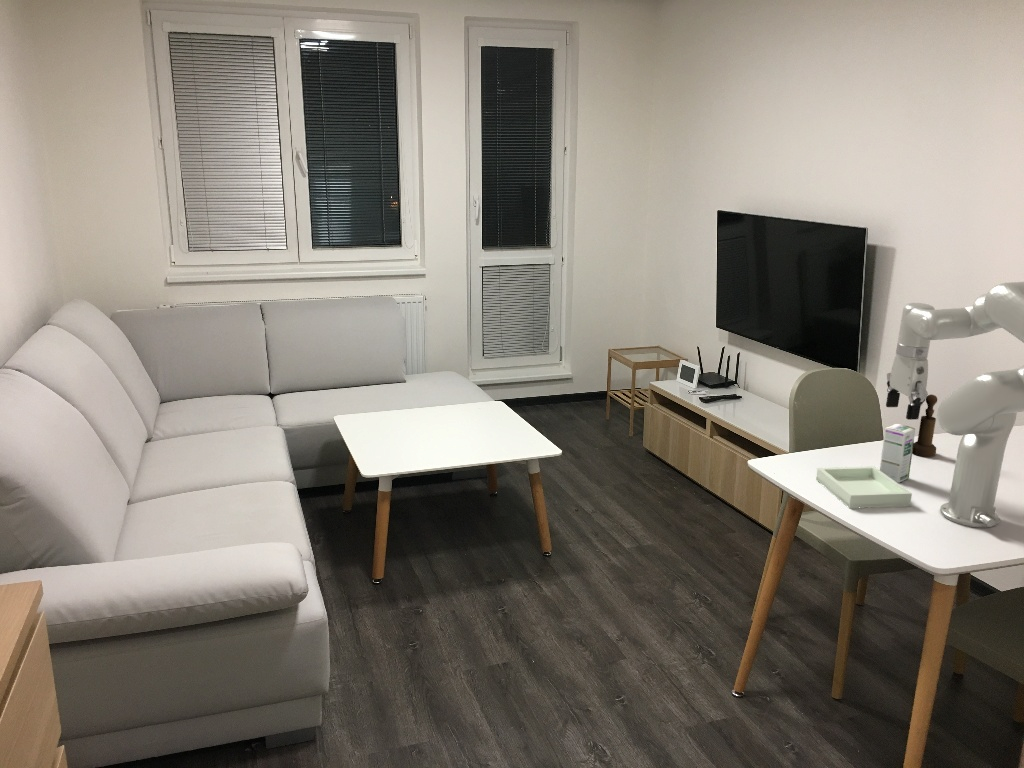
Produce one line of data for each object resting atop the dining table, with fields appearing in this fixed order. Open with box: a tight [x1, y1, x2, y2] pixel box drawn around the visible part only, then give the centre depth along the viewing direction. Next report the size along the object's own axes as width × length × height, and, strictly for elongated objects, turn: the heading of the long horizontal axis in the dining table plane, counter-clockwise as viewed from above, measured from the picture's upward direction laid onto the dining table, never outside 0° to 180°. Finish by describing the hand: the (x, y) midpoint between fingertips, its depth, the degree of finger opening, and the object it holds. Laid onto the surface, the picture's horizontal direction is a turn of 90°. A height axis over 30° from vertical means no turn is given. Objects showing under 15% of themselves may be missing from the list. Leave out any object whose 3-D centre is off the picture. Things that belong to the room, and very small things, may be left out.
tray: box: [815, 465, 913, 509], centre depth 213 cm, size 18×16×4 cm
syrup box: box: [879, 423, 916, 484], centre depth 222 cm, size 6×6×14 cm
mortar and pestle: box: [912, 394, 938, 458], centre depth 239 cm, size 7×6×18 cm
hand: (901, 412), depth 219 cm, fingers open, 9 cm apart
